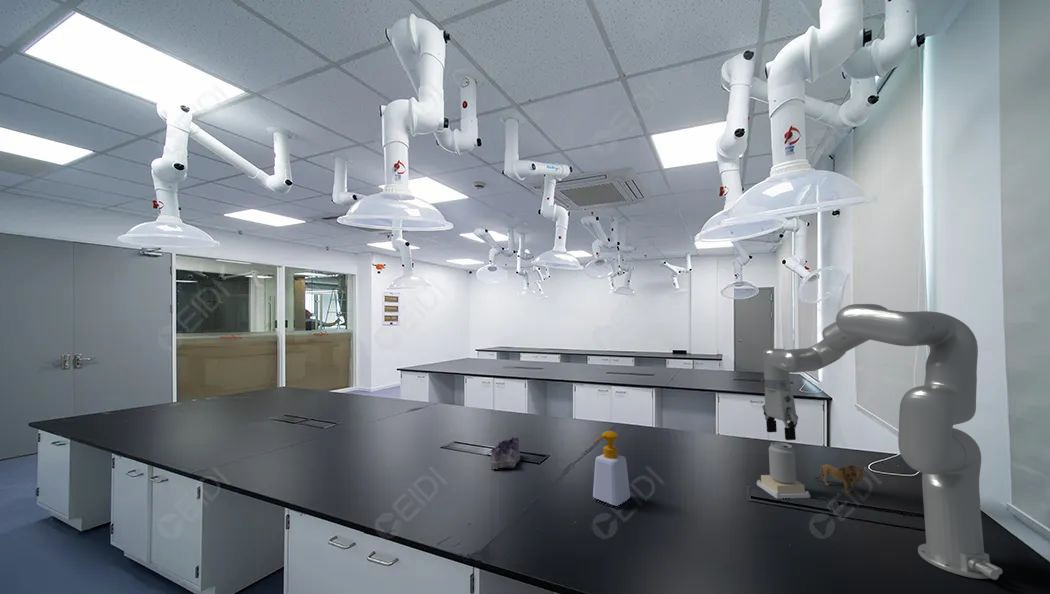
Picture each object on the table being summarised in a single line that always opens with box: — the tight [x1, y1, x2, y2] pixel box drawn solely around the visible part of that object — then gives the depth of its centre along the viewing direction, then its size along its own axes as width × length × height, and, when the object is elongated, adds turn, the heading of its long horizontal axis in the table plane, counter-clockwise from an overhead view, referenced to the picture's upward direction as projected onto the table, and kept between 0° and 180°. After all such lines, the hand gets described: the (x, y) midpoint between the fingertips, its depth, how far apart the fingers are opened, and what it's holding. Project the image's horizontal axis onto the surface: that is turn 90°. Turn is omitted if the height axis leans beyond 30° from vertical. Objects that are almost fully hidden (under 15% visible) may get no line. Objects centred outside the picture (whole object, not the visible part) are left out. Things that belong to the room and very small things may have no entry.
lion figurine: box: [814, 463, 865, 494], centre depth 139 cm, size 15×5×9 cm, turn 32°
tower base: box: [756, 474, 811, 500], centre depth 137 cm, size 11×11×4 cm
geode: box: [489, 437, 521, 470], centre depth 169 cm, size 20×12×10 cm, turn 168°
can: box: [768, 441, 797, 484], centre depth 137 cm, size 8×8×12 cm
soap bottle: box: [592, 430, 631, 507], centre depth 131 cm, size 10×14×22 cm
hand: (780, 435), depth 137 cm, fingers open, 9 cm apart
